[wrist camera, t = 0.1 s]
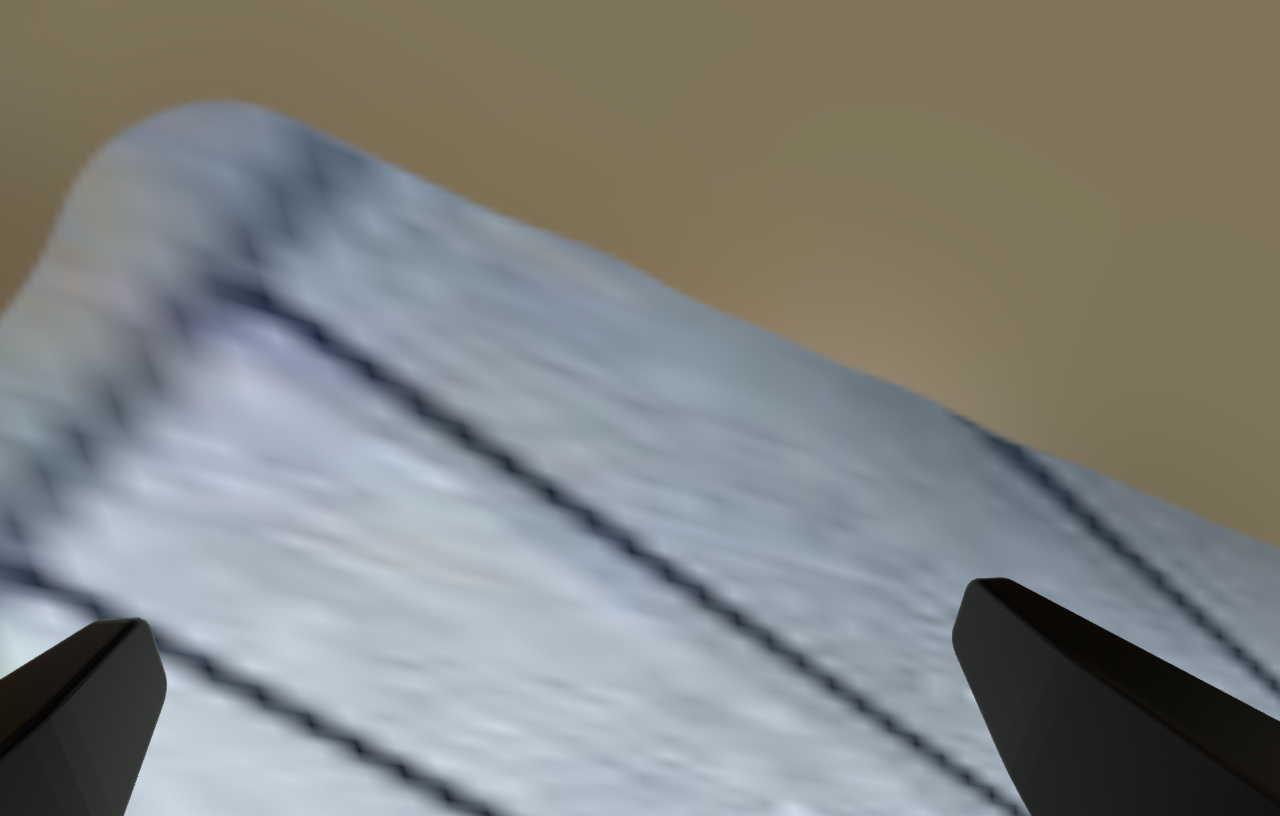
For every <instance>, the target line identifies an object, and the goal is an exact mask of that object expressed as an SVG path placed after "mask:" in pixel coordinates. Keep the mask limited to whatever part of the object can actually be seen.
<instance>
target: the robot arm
mask: <svg viewBox="0 0 1280 816" xmlns="http://www.w3.org/2000/svg"><path fill="white" fill-rule="evenodd" d="M952 643H953V648H954V651H955V654H956V656H957V659H958V661H959V663H960V665H961V668H962V670H963V672H964V675H965V677H966V679H967V682H968V684H969V686H970V688H971V691H972V693H973V695H974V698H975V700H976V702H977V704H978V707H979V709H980V711H981V714H982V716H983V718H984V720H985V723H986V725H987V727H988V730H989V732H990V734H991V737H992V739H993V741H994V743H995V746H996V748H997V750H998V753H999V755H1000V757H1001V759H1002V761H1003V763H1004V765H1005V767H1006V770H1007V772H1008V774H1009V776H1010V778H1011V780H1012V781H1013V783H1014V785H1015V787H1016V789H1017V791H1018V793H1019V795H1020V797H1021V799H1022V800H1023V802H1024V804H1025V806H1026V808H1027V809H1028V811H1029V813H1030V815H1031V816H1280V721H1278V720H1276V719H1274V718H1272V717H1270V716H1269V715H1267V714H1265V713H1263V712H1261V711H1259V710H1257V709H1255V708H1253V707H1251V706H1250V705H1248V704H1246V703H1244V702H1242V701H1240V700H1238V699H1236V698H1234V697H1232V696H1231V695H1229V694H1227V693H1225V692H1223V691H1221V690H1219V689H1217V688H1215V687H1214V686H1212V685H1210V684H1208V683H1206V682H1204V681H1202V680H1200V679H1198V678H1196V677H1195V676H1193V675H1191V674H1189V673H1187V672H1185V671H1183V670H1181V669H1179V668H1178V667H1176V666H1174V665H1172V664H1170V663H1168V662H1166V661H1164V660H1162V659H1160V658H1159V657H1157V656H1155V655H1153V654H1151V653H1149V652H1147V651H1145V650H1143V649H1141V648H1140V647H1138V646H1136V645H1134V644H1132V643H1130V642H1128V641H1126V640H1124V639H1123V638H1121V637H1119V636H1117V635H1115V634H1113V633H1111V632H1109V631H1107V630H1105V629H1104V628H1102V627H1100V626H1098V625H1096V624H1094V623H1092V622H1090V621H1088V620H1087V619H1085V618H1083V617H1081V616H1079V615H1077V614H1075V613H1073V612H1071V611H1069V610H1068V609H1066V608H1064V607H1062V606H1060V605H1058V604H1056V603H1054V602H1052V601H1051V600H1049V599H1047V598H1045V597H1043V596H1041V595H1039V594H1037V593H1035V592H1033V591H1032V590H1030V589H1028V588H1026V587H1024V586H1022V585H1020V584H1018V583H1016V582H1014V581H1013V580H1010V579H1008V578H1002V577H997V578H978V579H975V580H972V581H971V582H970V583H969V584H968V585H967V588H966V590H965V593H964V596H963V599H962V602H961V605H960V608H959V612H958V615H957V618H956V621H955V624H954V627H953V631H952ZM166 690H167V679H166V674H165V671H164V667H163V664H162V661H161V658H160V655H159V651H158V648H157V645H156V642H155V638H154V635H153V632H152V629H151V627H150V625H149V624H148V623H147V621H145V620H144V619H141V618H116V619H103V620H98V621H95V622H93V623H91V624H89V625H87V626H86V627H84V628H83V629H81V630H79V631H78V632H76V633H75V634H73V635H71V636H70V637H68V638H66V639H65V640H63V641H62V642H60V643H58V644H57V645H55V646H54V647H52V648H50V649H49V650H47V651H45V652H44V653H42V654H41V655H39V656H37V657H36V658H34V659H33V660H31V661H29V662H28V663H26V664H24V665H23V666H21V667H20V668H18V669H16V670H15V671H13V672H12V673H10V674H8V675H7V676H5V677H3V678H2V679H0V816H124V814H125V811H126V808H127V805H128V803H129V800H130V797H131V794H132V791H133V789H134V786H135V783H136V780H137V777H138V774H139V772H140V769H141V766H142V763H143V760H144V758H145V755H146V752H147V749H148V746H149V743H150V741H151V738H152V735H153V732H154V729H155V727H156V724H157V721H158V718H159V715H160V712H161V710H162V707H163V704H164V701H165V696H166Z"/></svg>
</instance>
